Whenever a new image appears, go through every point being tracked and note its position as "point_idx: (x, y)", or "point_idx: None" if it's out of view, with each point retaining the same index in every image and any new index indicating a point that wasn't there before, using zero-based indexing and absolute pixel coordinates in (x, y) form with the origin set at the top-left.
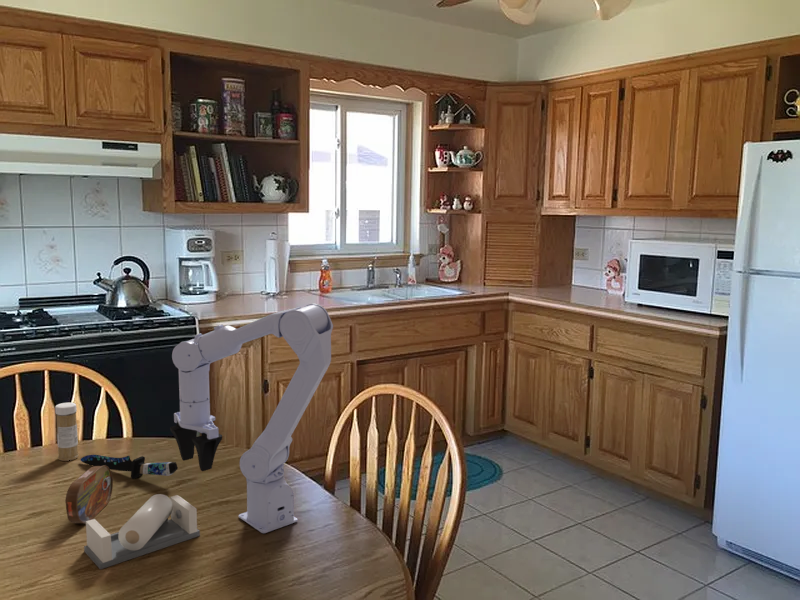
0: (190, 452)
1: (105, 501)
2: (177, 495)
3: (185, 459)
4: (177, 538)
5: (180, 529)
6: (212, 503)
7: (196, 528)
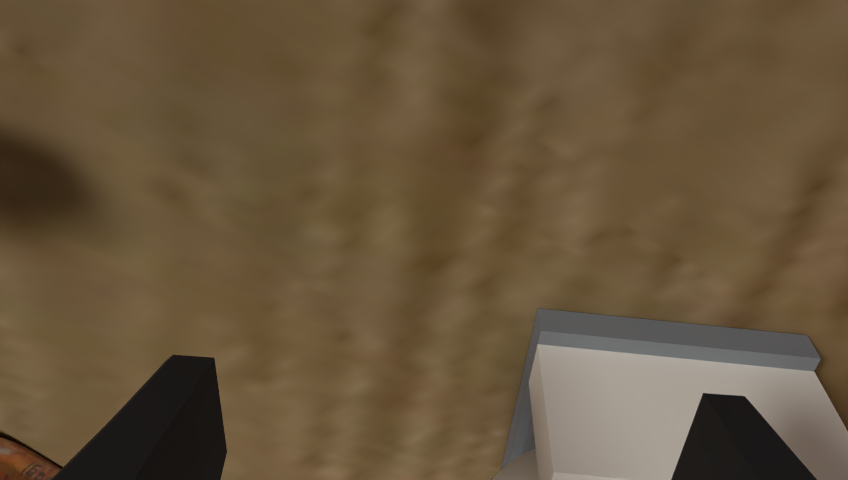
0: (185, 454)
1: (3, 459)
2: (562, 476)
3: (221, 444)
4: None
5: None
6: (461, 13)
7: (820, 390)
